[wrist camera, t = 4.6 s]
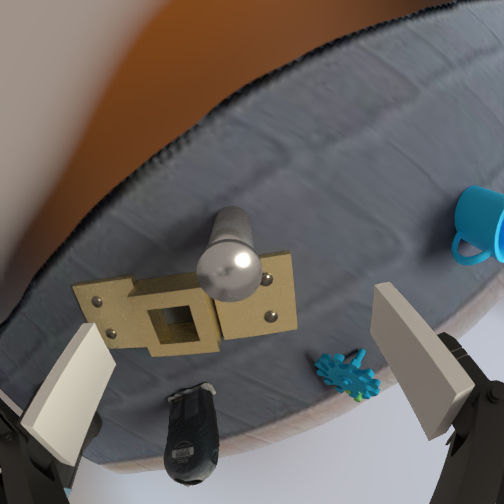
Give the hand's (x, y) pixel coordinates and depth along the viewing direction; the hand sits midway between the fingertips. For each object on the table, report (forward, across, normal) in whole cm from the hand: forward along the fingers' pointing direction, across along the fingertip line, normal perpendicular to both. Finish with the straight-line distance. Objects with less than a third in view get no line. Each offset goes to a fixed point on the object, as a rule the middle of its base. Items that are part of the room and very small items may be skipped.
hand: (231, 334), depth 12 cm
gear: (+20, +9, -23) cm, 32 cm away
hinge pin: (+18, 0, 0) cm, 19 cm away
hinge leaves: (+18, -8, -9) cm, 22 cm away
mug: (+19, +31, -4) cm, 37 cm away
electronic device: (+18, -11, -26) cm, 34 cm away
